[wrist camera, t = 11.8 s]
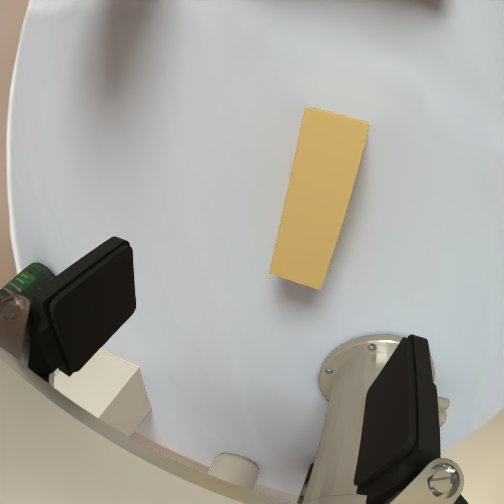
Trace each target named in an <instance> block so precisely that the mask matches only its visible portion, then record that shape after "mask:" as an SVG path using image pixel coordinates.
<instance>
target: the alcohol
mask: <svg viewBox="0 0 504 504" xmlns="http://www.w3.org/2000/svg"><path fill="white" fill-rule="evenodd" d="M207 474H208V475H211V476H213V477H216V478H219V479H221V480H224V481H227V482H229V483H232V484H235V485H238V486H241V487H244V488H246V489H250V490H252V489H253V486H254V484H255V482H256V479H257V477H258V474H259V471H258V468H257V466H256V465H255V464H254V463H253V462H252V461H250V460H248V459H246V458H244V457H241V456H238V455H235V454H230V453H222V454H220V455H218V456H216V457H215V459H214V461H213V463H212V465H211V466H210V468H209V470H208V472H207Z"/></svg>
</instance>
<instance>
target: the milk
mask: <svg viewBox="0 0 504 504" xmlns="http://www.w3.org/2000/svg"><path fill="white" fill-rule="evenodd" d="M54 388H55V389H56V390H58V391H59V392H60V393H62V394H63V395H65V396H66V397H67V398H69V399H70V400H72V401H73V402H74V403H76V404H77V405H79V406H80V407H82V408H83V409H85V410H86V411H88V412H89V413H91V414H92V415H94V416H96V417H97V418H99V419H100V420H102V421H104V422H105V423H107V424H109V425H110V426H112V427H113V428H115V429H117V430H119V431H120V432H122V433H124V434H125V435H127V436H129V437H130V436H131V435H132V433H133V432H134V431H135V430H136V428H137V427H138V426H139V424H140V423H141V422H142V421H143V419H144V418H145V417H146V416H147V414H148V413H149V412H150V410H151V409H152V408H151V405H150V401H149V398H148V395H147V392H146V388H145V385H144V381H143V378H142V374H141V371H140V367H138V366H136V365H134V364H132V363H130V362H127V361H125V360H123V359H121V358H119V357H117V356H115V355H113V354H111V353H109V352H107V351H105V350H103V349H101V348H100V349H99V350H98V351H97V352H96V353H95V354H94V356H93V357H92V358H91V359H90V360H89V361H88V362H87V363H86V364H85V365H84V366H83V367H82V369H81V370H80V371H78V372H74V373H73V374H72V375H71V376H70V377H68V376H67V375H66V374H64V373H63V372H61V371H60V372H59V373H58V374H57V375H56V376H55V378H54Z"/></svg>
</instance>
